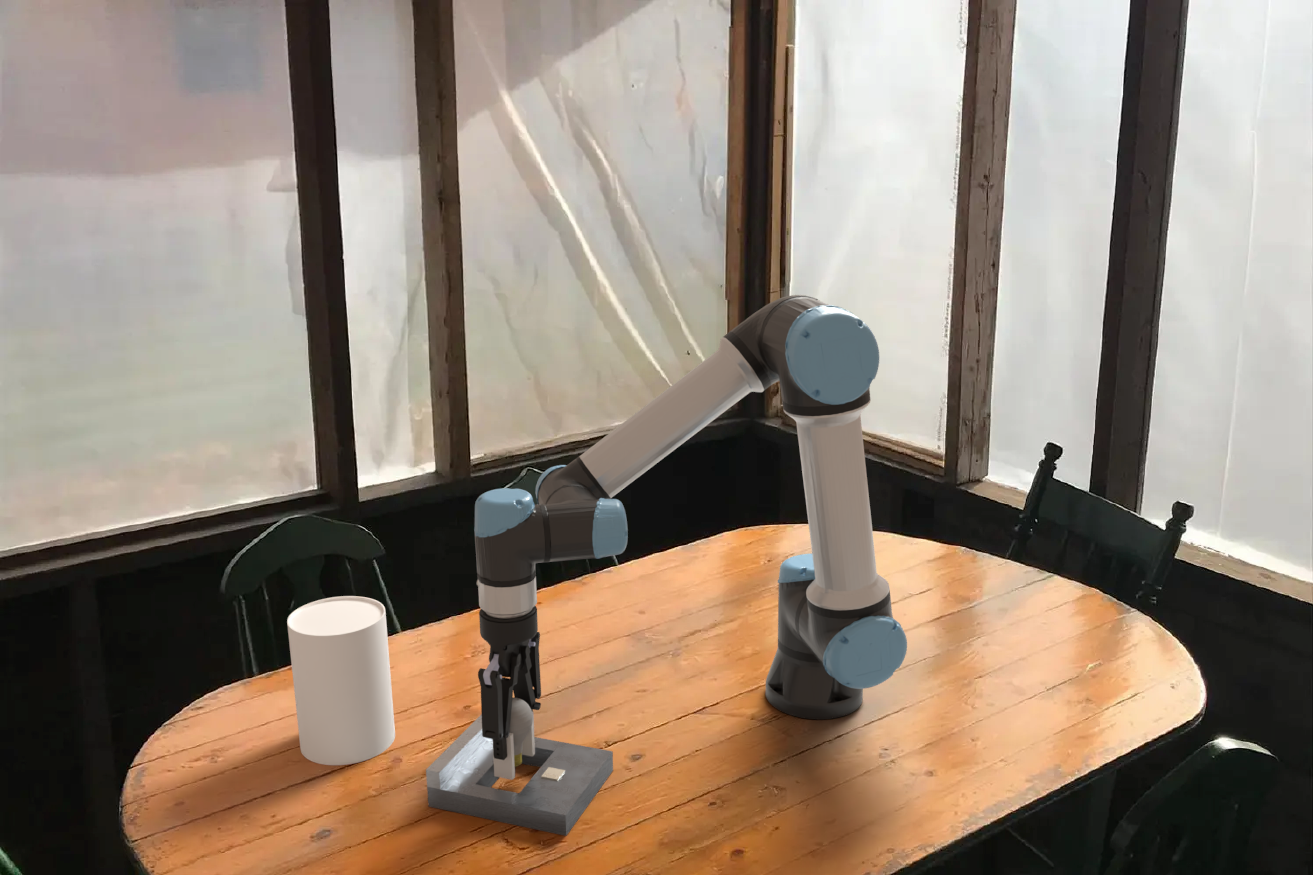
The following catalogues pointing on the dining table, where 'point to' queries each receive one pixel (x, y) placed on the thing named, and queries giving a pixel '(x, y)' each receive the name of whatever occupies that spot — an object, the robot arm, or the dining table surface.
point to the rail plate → (541, 803)
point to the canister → (341, 679)
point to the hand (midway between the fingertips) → (515, 764)
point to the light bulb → (520, 726)
